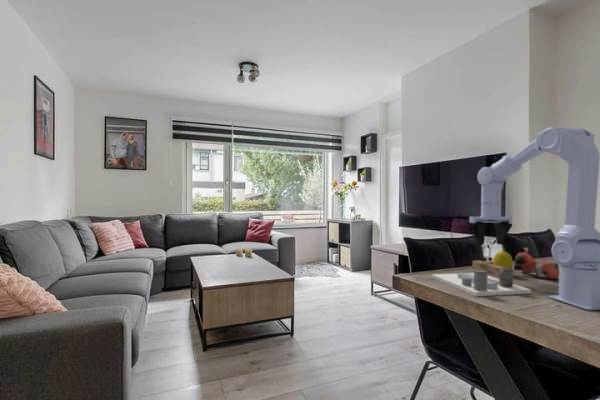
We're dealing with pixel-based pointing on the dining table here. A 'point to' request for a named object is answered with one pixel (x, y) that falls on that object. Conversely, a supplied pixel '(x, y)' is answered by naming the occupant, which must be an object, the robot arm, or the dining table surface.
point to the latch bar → (496, 272)
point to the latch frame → (479, 284)
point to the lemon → (503, 259)
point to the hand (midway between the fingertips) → (490, 244)
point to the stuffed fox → (535, 266)
